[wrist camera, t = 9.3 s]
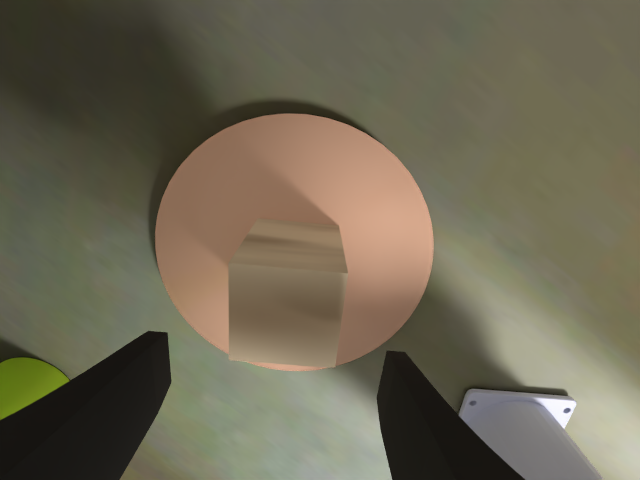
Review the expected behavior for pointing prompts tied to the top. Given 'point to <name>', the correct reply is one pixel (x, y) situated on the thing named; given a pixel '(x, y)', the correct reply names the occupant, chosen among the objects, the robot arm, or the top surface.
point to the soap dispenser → (26, 383)
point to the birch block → (287, 294)
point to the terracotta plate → (300, 206)
